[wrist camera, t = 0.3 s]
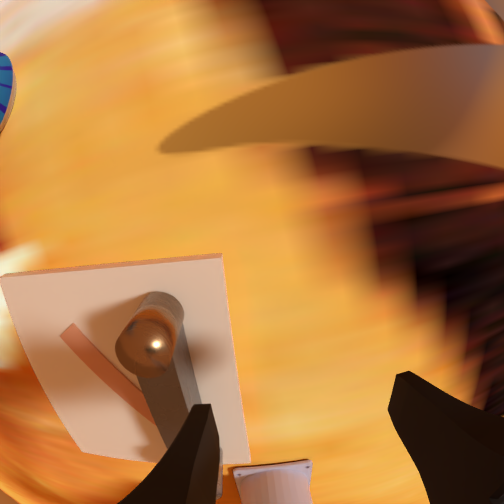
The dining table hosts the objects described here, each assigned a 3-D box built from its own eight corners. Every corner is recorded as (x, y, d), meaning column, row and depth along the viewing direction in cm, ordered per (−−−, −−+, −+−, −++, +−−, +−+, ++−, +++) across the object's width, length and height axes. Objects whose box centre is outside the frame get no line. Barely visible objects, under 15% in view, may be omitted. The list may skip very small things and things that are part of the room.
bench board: (250, 455, 23) (251, 464, 22) (84, 445, 23) (81, 453, 22) (222, 253, 18) (221, 258, 17) (5, 273, 17) (-3, 278, 16)
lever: (225, 460, 21) (225, 501, 17) (186, 461, 21) (181, 500, 17) (186, 289, 17) (171, 329, 12) (130, 293, 17) (100, 330, 12)
